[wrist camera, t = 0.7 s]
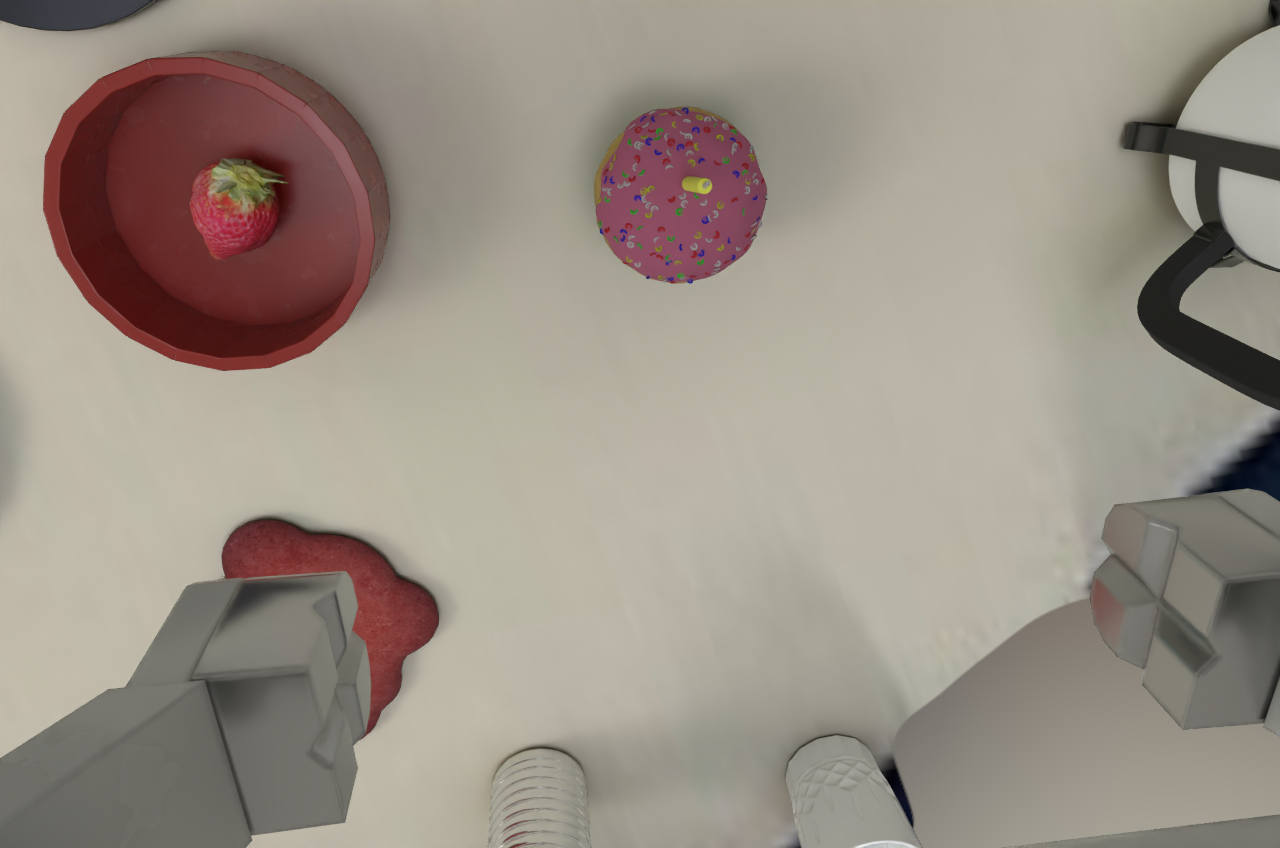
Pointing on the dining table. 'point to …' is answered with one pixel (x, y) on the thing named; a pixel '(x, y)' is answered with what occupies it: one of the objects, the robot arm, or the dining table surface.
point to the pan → (163, 223)
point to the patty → (386, 603)
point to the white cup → (844, 798)
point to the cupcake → (679, 195)
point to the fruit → (235, 206)
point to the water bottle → (539, 802)
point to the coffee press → (1221, 205)
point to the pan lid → (69, 13)
